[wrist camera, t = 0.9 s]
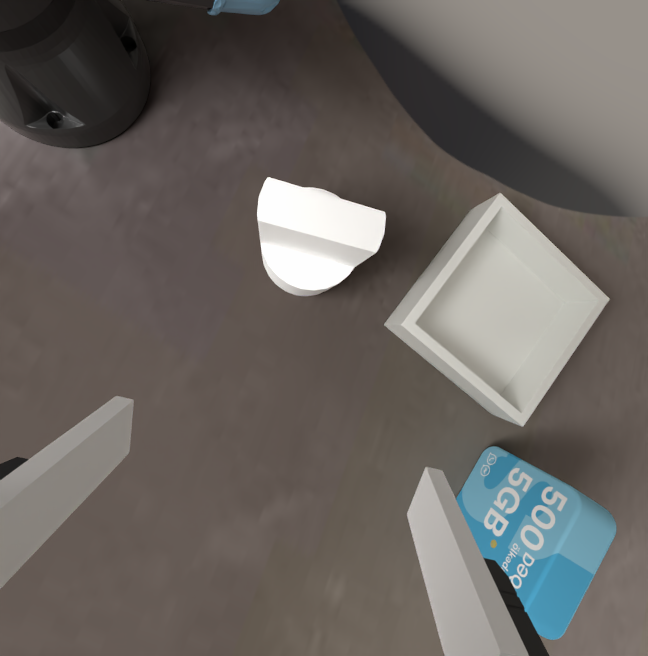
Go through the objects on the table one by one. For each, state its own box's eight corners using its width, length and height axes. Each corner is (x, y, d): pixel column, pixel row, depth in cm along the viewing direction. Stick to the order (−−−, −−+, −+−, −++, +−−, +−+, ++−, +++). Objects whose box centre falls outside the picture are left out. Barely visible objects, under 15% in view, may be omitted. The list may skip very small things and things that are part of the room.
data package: (487, 440, 38) (587, 494, 26) (516, 459, 38) (625, 519, 27) (436, 531, 37) (514, 629, 25) (465, 548, 37) (556, 652, 26)
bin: (383, 324, 35) (401, 324, 31) (470, 209, 37) (500, 192, 32) (491, 414, 38) (522, 426, 33) (568, 301, 39) (609, 298, 34)
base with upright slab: (354, 224, 35) (397, 172, 23) (336, 304, 34) (370, 294, 23) (272, 200, 33) (273, 132, 21) (253, 284, 33) (243, 263, 21)
